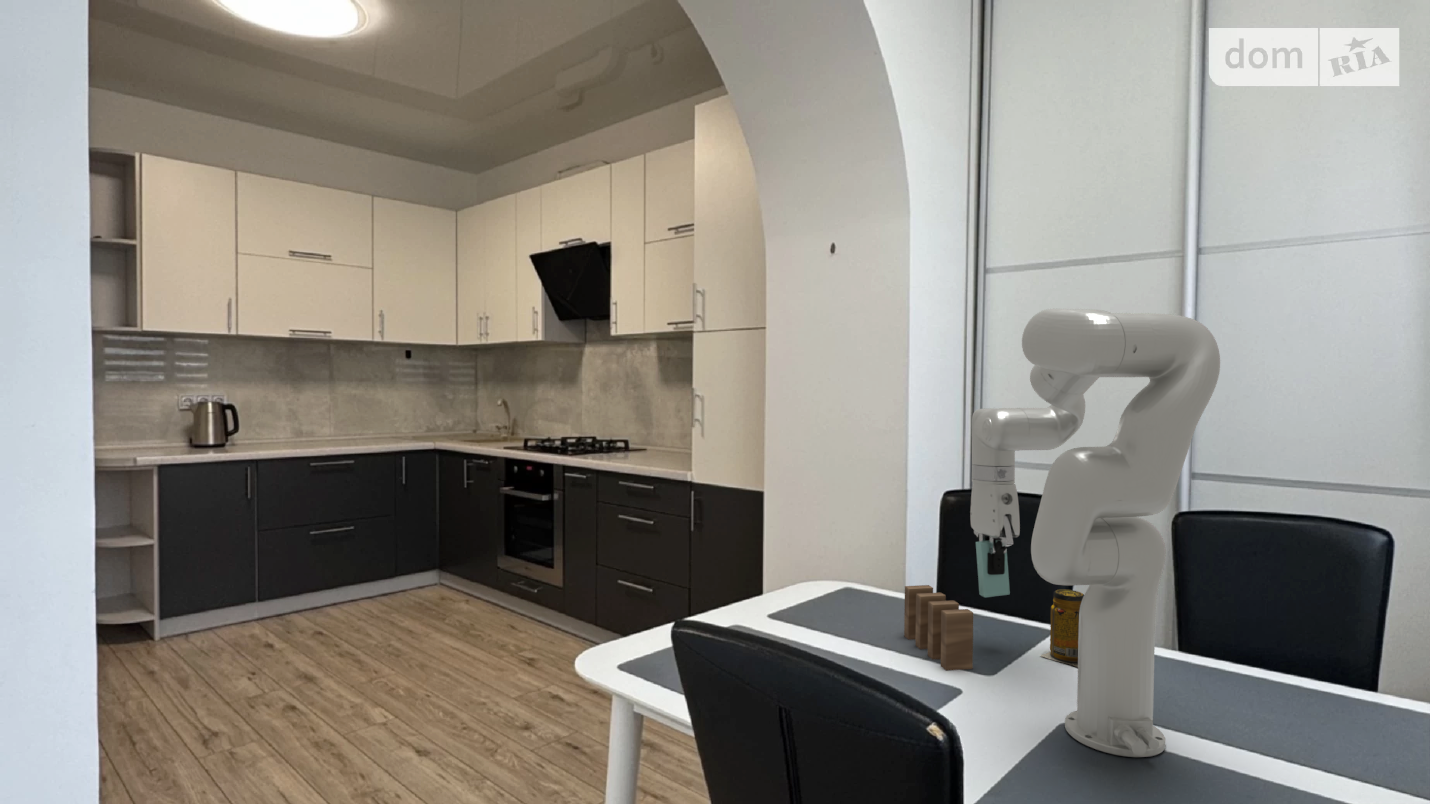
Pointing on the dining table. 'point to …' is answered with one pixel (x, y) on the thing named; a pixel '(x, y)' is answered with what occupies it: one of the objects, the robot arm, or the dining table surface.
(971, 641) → the domino
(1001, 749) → the dining table surface
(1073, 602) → the condiment
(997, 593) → the domino
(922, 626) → the domino
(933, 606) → the domino
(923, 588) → the domino
